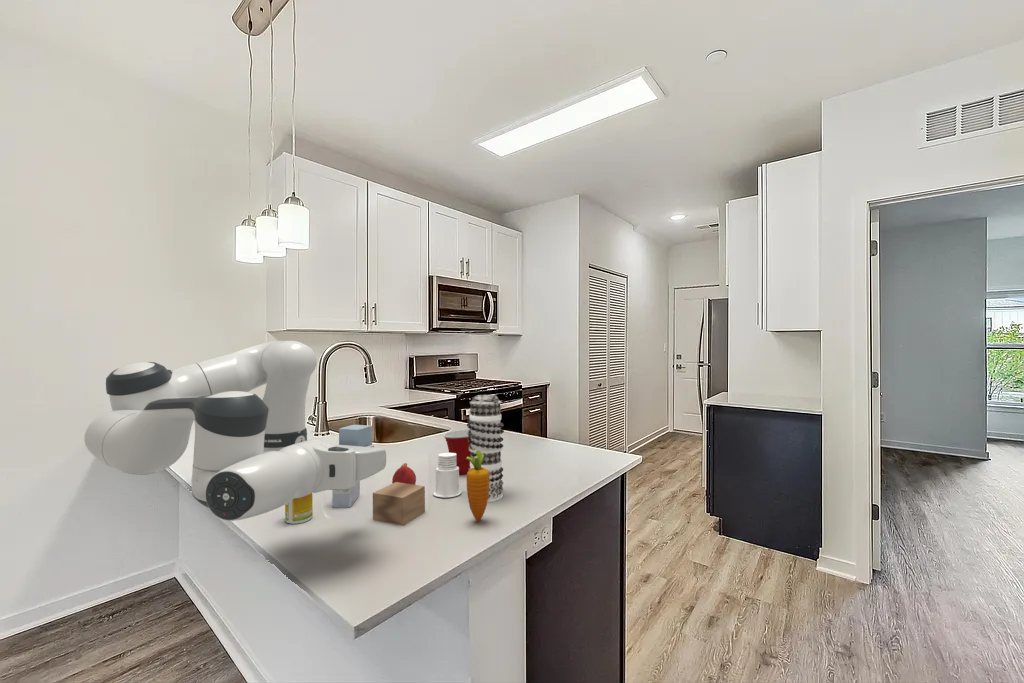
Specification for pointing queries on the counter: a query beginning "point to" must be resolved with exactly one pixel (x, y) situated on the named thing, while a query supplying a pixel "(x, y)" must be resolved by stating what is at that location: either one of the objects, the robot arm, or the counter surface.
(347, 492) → the medicine box
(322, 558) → the counter surface
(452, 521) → the counter surface
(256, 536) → the counter surface
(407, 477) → the red round fruit
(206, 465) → the robot arm
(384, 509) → the walnut block
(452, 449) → the plastic cup
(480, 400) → the decorative candle
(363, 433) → the slate pillar
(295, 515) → the supplement bottle
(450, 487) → the downlight
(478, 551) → the counter surface
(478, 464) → the carrot
